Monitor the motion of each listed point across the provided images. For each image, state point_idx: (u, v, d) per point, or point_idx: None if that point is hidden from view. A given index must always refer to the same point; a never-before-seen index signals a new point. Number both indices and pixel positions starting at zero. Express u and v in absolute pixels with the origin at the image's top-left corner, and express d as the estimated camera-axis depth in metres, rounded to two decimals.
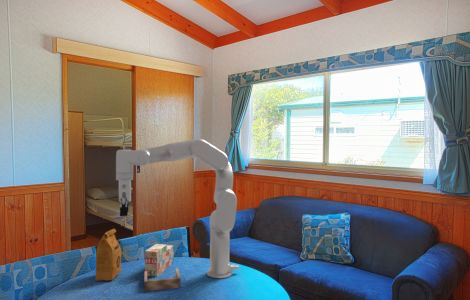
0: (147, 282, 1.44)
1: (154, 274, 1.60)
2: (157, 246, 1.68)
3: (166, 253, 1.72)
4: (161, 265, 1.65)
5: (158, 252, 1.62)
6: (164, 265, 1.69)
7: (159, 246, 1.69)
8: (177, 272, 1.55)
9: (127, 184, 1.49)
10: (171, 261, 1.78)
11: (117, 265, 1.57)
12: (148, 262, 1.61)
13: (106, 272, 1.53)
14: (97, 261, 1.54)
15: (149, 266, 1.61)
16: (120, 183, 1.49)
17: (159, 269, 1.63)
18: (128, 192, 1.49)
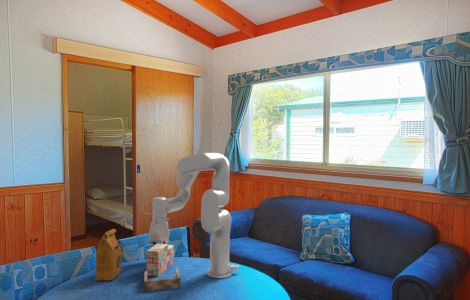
0: (147, 282, 1.44)
1: (156, 274, 1.61)
2: (158, 246, 1.69)
3: (167, 253, 1.72)
4: (162, 265, 1.65)
5: (160, 252, 1.62)
6: (165, 265, 1.69)
7: (160, 246, 1.69)
8: (177, 272, 1.55)
9: None
10: (172, 261, 1.78)
11: (117, 265, 1.57)
12: (150, 262, 1.61)
13: (106, 272, 1.53)
14: (97, 261, 1.54)
15: (150, 266, 1.61)
16: (167, 225, 1.82)
17: (160, 269, 1.63)
18: None
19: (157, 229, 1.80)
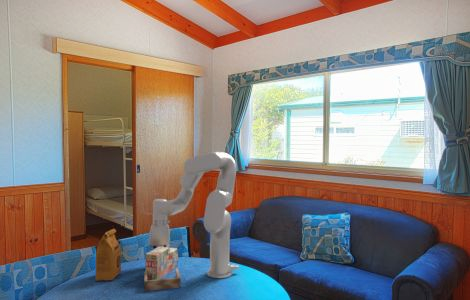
0: (147, 282, 1.44)
1: (154, 278, 1.55)
2: (159, 249, 1.63)
3: (169, 256, 1.66)
4: (162, 269, 1.60)
5: (159, 255, 1.57)
6: (166, 269, 1.64)
7: (161, 249, 1.63)
8: (177, 272, 1.55)
9: None
10: (175, 265, 1.73)
11: (117, 265, 1.57)
12: (148, 265, 1.56)
13: (106, 272, 1.53)
14: (97, 261, 1.54)
15: (149, 270, 1.56)
16: (168, 228, 1.75)
17: (160, 273, 1.58)
18: None
19: (157, 232, 1.72)
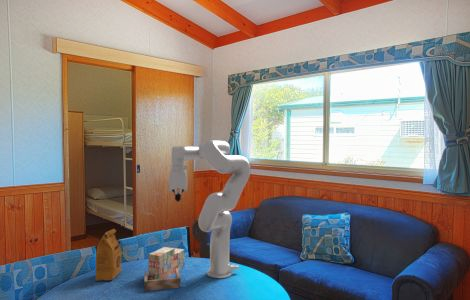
0: (147, 282, 1.44)
1: (157, 278, 1.55)
2: (163, 249, 1.63)
3: (174, 257, 1.65)
4: (166, 270, 1.59)
5: (161, 256, 1.56)
6: (170, 270, 1.63)
7: (165, 250, 1.63)
8: (177, 272, 1.55)
9: None
10: (181, 266, 1.71)
11: (117, 265, 1.57)
12: (151, 266, 1.56)
13: (106, 272, 1.53)
14: (97, 261, 1.54)
15: (152, 270, 1.56)
16: (186, 173, 1.87)
17: (163, 274, 1.57)
18: None
19: (176, 176, 1.84)
